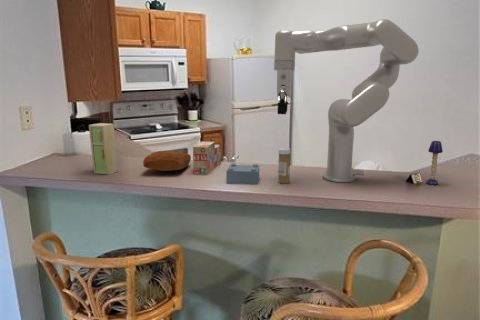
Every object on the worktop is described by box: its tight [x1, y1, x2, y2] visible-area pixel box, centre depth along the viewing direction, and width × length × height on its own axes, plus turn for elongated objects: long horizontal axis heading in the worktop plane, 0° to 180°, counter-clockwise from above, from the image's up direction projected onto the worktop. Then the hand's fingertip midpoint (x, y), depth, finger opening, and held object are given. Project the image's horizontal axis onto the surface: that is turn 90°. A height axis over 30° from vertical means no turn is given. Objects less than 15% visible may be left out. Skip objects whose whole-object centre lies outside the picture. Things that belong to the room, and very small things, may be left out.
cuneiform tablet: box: [142, 150, 192, 172], centre depth 155 cm, size 22×17×8 cm
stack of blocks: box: [192, 141, 222, 176], centre depth 157 cm, size 21×6×12 cm, turn 168°
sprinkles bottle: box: [277, 147, 291, 185], centre depth 135 cm, size 5×5×14 cm
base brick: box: [225, 162, 260, 185], centre depth 139 cm, size 12×10×6 cm
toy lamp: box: [425, 140, 444, 187], centre depth 132 cm, size 5×5×17 cm
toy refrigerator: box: [88, 122, 119, 175], centre depth 150 cm, size 8×7×21 cm
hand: (282, 112), depth 133 cm, fingers open, 9 cm apart
